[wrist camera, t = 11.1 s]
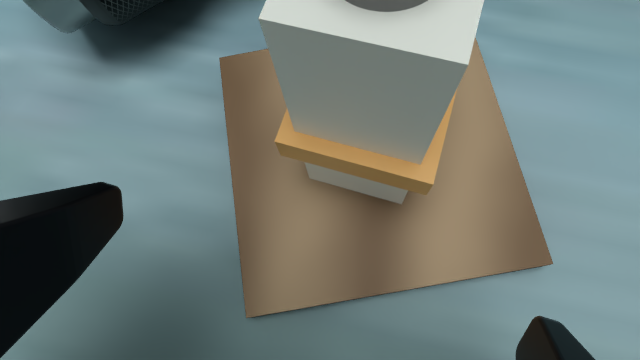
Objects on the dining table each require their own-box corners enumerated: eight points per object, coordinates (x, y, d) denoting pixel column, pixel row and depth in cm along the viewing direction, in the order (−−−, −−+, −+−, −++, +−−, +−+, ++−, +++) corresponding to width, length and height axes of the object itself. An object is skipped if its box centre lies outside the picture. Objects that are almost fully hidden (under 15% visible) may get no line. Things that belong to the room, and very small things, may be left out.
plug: (410, 219, 16) (544, 15, 5) (294, 185, 17) (183, -56, 6) (438, 112, 18) (593, -241, 6) (329, 85, 19) (295, -269, 7)
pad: (252, 317, 17) (246, 317, 16) (225, 69, 20) (219, 57, 19) (541, 266, 16) (553, 263, 16) (461, 25, 20) (466, 11, 19)
